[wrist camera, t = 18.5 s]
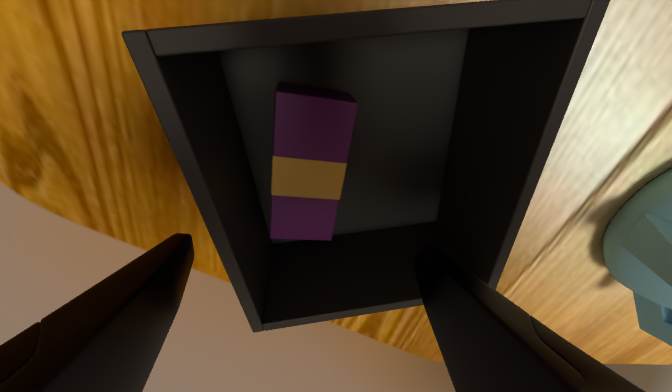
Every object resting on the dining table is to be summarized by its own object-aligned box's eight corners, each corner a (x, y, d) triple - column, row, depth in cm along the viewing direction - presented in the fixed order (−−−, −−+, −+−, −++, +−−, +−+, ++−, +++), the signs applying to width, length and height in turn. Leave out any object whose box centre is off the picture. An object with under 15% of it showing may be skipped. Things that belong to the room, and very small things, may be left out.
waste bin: (266, 246, 19) (252, 333, 13) (202, 34, 12) (118, 31, 6) (439, 222, 20) (494, 293, 14) (477, 10, 13) (615, -11, 7)
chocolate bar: (327, 216, 17) (331, 241, 15) (272, 213, 17) (269, 239, 15) (349, 92, 13) (359, 102, 11) (278, 81, 13) (274, 90, 11)
